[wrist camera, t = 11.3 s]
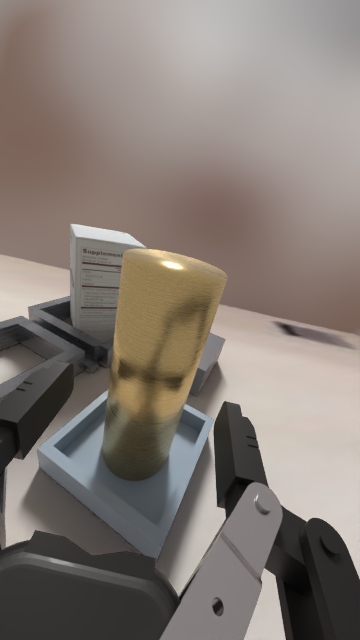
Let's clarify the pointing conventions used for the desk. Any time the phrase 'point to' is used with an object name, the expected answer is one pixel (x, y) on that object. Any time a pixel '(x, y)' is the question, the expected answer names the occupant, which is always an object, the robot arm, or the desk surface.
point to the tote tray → (115, 493)
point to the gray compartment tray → (52, 341)
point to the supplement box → (96, 278)
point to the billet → (155, 355)
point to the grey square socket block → (207, 362)
